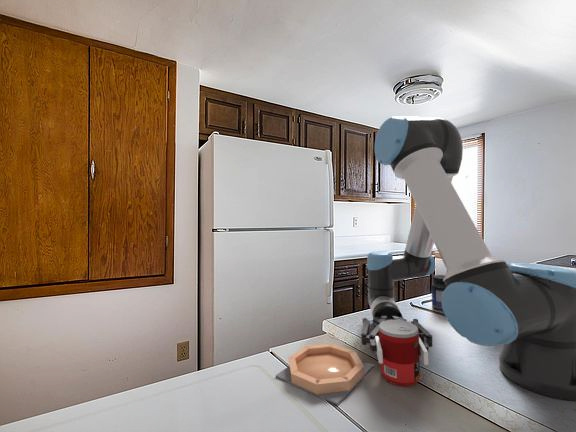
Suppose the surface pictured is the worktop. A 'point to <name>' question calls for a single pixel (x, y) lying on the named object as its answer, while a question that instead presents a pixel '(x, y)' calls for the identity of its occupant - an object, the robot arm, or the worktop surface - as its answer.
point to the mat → (331, 397)
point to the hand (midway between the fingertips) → (403, 357)
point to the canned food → (400, 352)
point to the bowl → (325, 368)
